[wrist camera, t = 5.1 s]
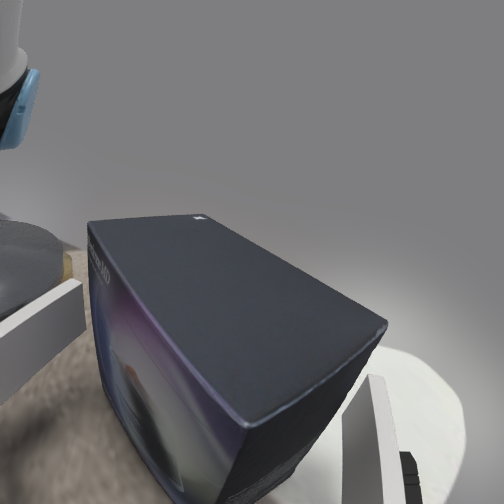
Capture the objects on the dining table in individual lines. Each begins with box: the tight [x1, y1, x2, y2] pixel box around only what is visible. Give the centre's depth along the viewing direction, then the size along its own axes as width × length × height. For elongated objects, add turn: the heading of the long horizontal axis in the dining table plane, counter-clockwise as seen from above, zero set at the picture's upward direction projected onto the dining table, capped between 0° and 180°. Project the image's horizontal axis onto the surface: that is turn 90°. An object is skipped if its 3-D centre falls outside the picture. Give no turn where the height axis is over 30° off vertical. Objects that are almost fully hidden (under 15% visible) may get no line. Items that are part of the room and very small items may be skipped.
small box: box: [87, 214, 388, 504], centre depth 11 cm, size 11×6×10 cm, turn 42°
